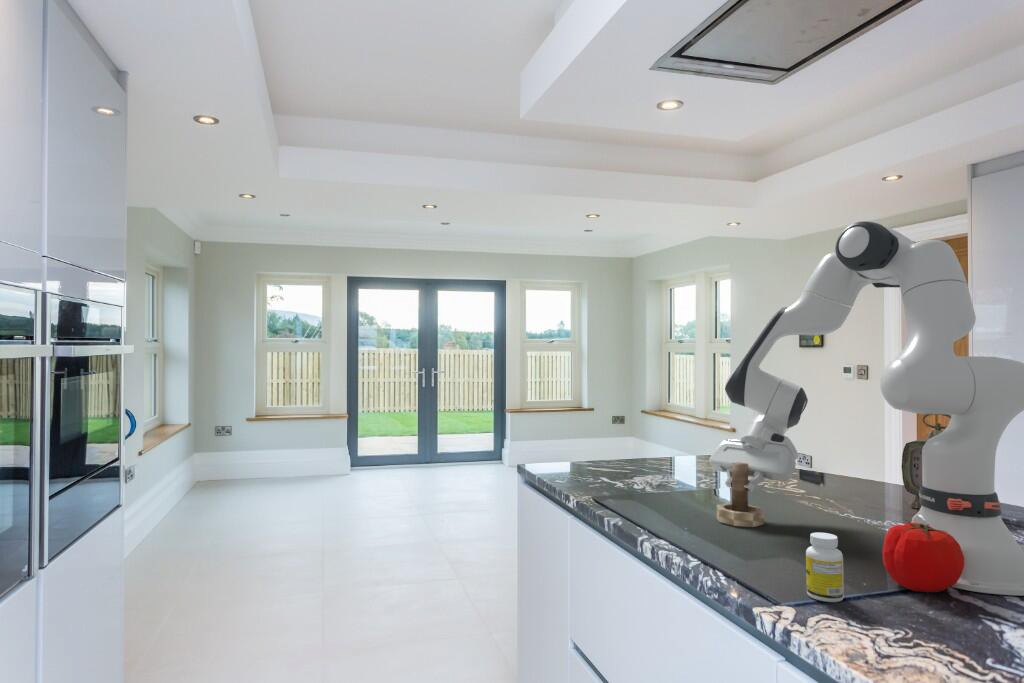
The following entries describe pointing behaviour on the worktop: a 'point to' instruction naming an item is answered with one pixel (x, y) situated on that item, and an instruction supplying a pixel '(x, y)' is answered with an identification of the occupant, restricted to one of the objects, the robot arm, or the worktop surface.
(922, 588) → the tomato
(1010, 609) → the worktop surface
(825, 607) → the worktop surface
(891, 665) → the worktop surface
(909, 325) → the robot arm
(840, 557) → the supplement bottle
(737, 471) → the brown wooden cylinder
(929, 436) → the tabletop clock
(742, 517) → the wooden octagonal ring
